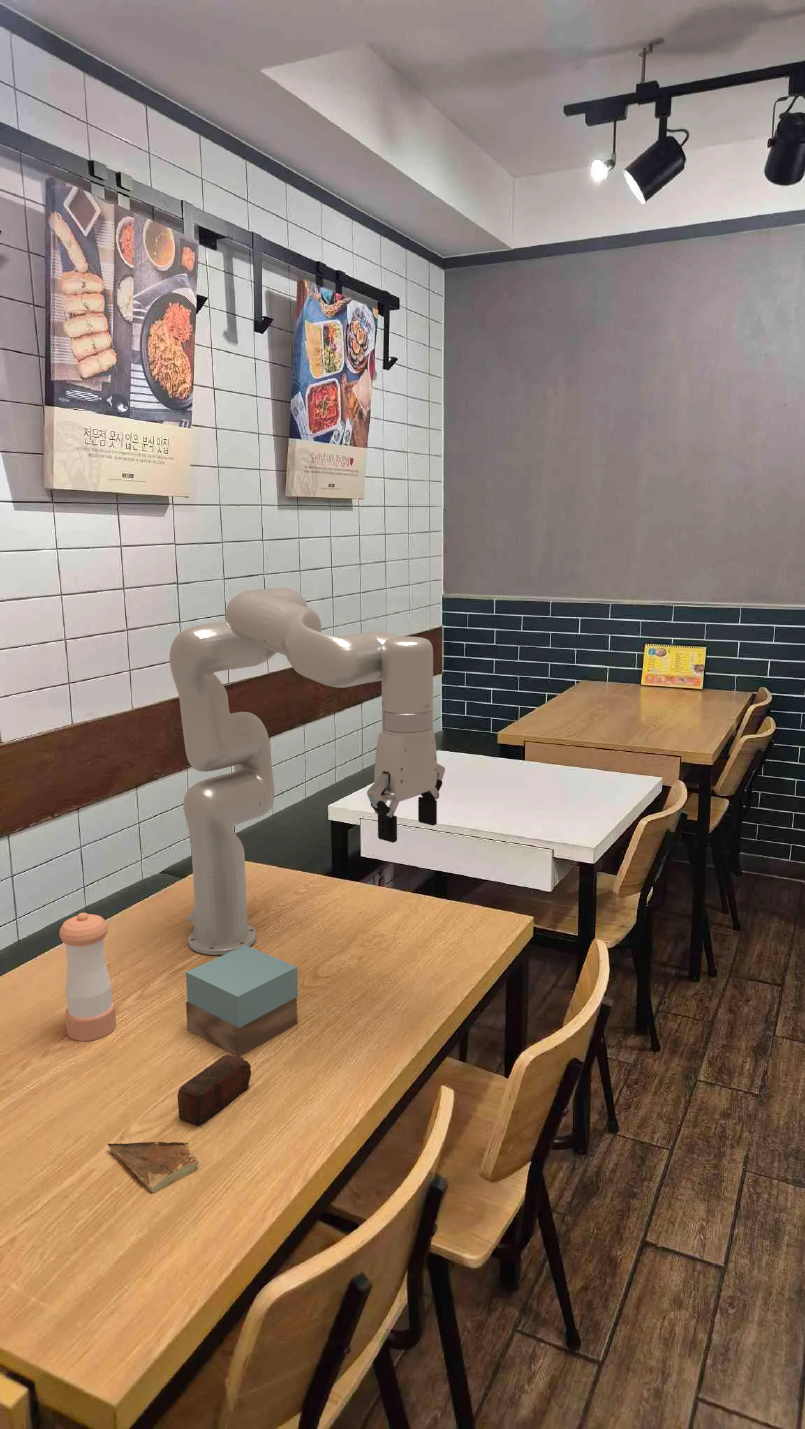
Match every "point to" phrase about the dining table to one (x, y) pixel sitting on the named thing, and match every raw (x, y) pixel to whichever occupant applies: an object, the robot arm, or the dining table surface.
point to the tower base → (241, 1028)
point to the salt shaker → (87, 979)
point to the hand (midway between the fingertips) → (408, 831)
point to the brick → (213, 1089)
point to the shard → (156, 1161)
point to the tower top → (242, 985)
